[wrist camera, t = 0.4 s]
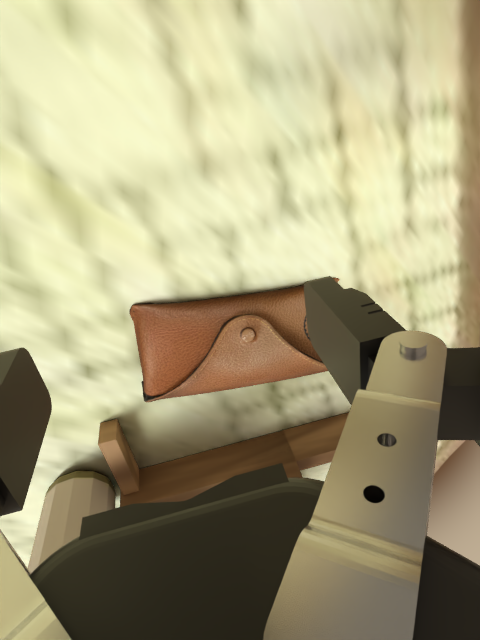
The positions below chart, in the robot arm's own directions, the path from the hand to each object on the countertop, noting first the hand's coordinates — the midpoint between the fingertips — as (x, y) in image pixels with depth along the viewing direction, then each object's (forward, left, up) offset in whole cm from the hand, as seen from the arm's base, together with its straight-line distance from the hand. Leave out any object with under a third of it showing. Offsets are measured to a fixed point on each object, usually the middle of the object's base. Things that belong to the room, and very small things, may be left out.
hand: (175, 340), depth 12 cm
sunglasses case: (+13, +4, -20) cm, 24 cm away
